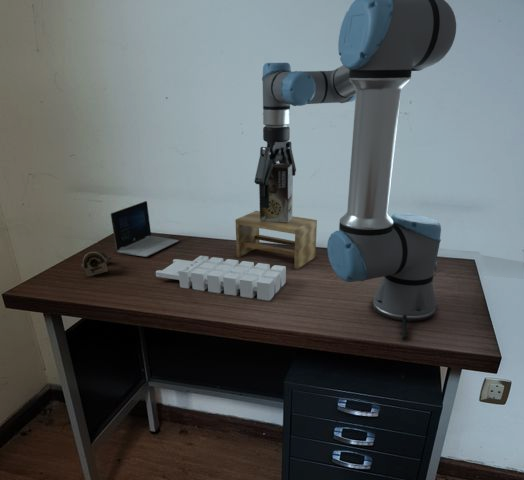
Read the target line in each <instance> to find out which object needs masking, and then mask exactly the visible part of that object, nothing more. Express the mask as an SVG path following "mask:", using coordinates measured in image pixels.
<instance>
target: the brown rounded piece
mask: <svg viewBox="0 0 524 480" xmlns="http://www.w3.org/2000/svg"><path fill="white" fill-rule="evenodd" d="M112 259H113V258H112V256H111V255H107V254H105V253H104V252H103V251H99V250H94V251H89V252H87V253H86V254H85V255H84V256H83V259H82V263H81V264H80V265H81V268H82V269H84V271H85V273H86V276H87V277H91V276H92V277H93V276H95V275H100V274H102V273H107V272H109V269H108V267H109V261H111V260H112Z"/></svg>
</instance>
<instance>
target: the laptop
mask: <svg viewBox="0 0 524 480" xmlns="http://www.w3.org/2000/svg"><path fill="white" fill-rule="evenodd" d="M148 206H149V205H148V201H147V200H144V201H142V202H139V203H136V204H133V205H130V206H127V207H125V208H122V209H119V210H116V211H113V212H110V219H111V225H112V231H113V238H114V243H115V249H116V253H119V254H125V255H131V256H137V257H138V256H139V257H145V258H148V257H150V256H152V255H154V254H156V253H159V252H160V251H162V250H164V249H167V248H169V247H171V246H173V245H175V244H176V243H178V242H179V241H180V240H179V239H175V238H170V237H169V238H168V237H163V236H162V237H161V236H156V235H152V232H151V223H150V216H149V215H150V214H149V208H148Z"/></svg>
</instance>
